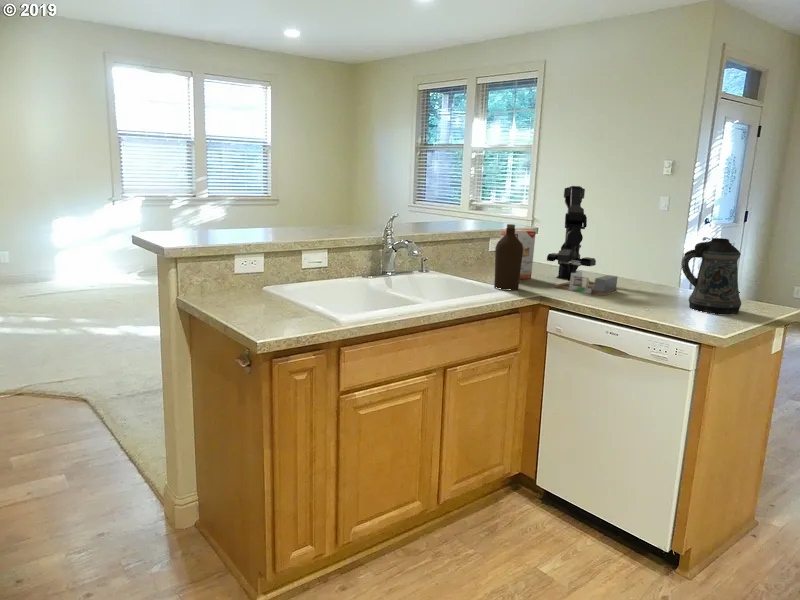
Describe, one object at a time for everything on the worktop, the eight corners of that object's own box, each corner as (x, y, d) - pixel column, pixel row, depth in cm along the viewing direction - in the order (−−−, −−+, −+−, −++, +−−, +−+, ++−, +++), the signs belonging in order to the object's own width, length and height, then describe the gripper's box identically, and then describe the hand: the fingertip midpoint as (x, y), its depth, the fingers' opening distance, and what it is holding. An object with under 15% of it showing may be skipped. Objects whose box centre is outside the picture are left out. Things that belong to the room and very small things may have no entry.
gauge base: (553, 288, 243) (554, 282, 243) (569, 283, 254) (570, 278, 254) (601, 296, 230) (602, 290, 230) (616, 291, 241) (617, 286, 241)
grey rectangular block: (593, 291, 234) (595, 278, 233) (606, 287, 243) (607, 275, 242) (603, 292, 231) (605, 279, 230) (616, 288, 240) (617, 276, 239)
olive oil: (507, 292, 231) (512, 226, 226) (487, 287, 239) (491, 223, 234) (525, 289, 238) (530, 225, 233) (504, 284, 246) (509, 222, 241)
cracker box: (502, 279, 257) (506, 230, 253) (496, 277, 263) (499, 229, 258) (532, 279, 261) (536, 230, 257) (525, 276, 267) (529, 229, 262)
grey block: (567, 285, 241) (568, 273, 240) (578, 282, 248) (579, 270, 247) (579, 287, 238) (581, 275, 236) (590, 284, 245) (591, 272, 244)
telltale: (581, 288, 237) (582, 278, 236) (583, 287, 238) (584, 277, 237) (585, 288, 236) (586, 278, 235) (587, 288, 237) (588, 278, 236)
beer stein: (750, 315, 207) (763, 242, 202) (701, 315, 203) (712, 241, 198) (717, 304, 223) (727, 236, 218) (670, 304, 219) (679, 235, 214)
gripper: (542, 241, 243) (538, 279, 246) (586, 246, 231) (582, 286, 235) (554, 239, 251) (551, 276, 255) (598, 244, 240) (594, 283, 243)
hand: (568, 280), depth 247 cm, fingers closed
